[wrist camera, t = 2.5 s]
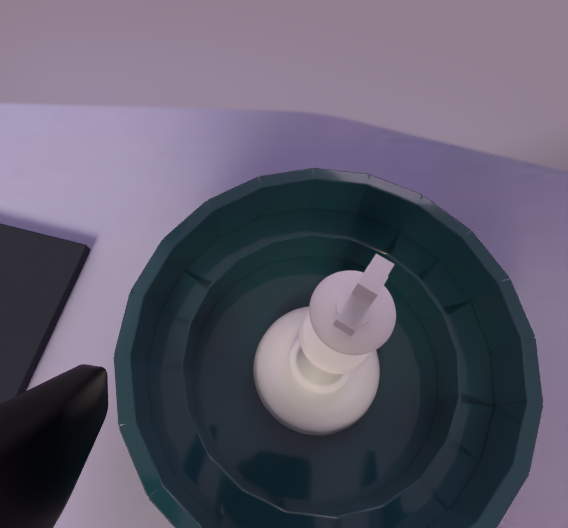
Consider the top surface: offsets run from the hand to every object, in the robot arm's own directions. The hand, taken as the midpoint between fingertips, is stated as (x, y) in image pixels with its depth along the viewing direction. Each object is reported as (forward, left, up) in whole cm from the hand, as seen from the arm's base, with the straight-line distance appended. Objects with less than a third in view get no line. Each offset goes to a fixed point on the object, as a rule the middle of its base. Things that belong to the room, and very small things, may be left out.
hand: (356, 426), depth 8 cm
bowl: (+3, +1, -10) cm, 10 cm away
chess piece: (+3, +1, -10) cm, 10 cm away
